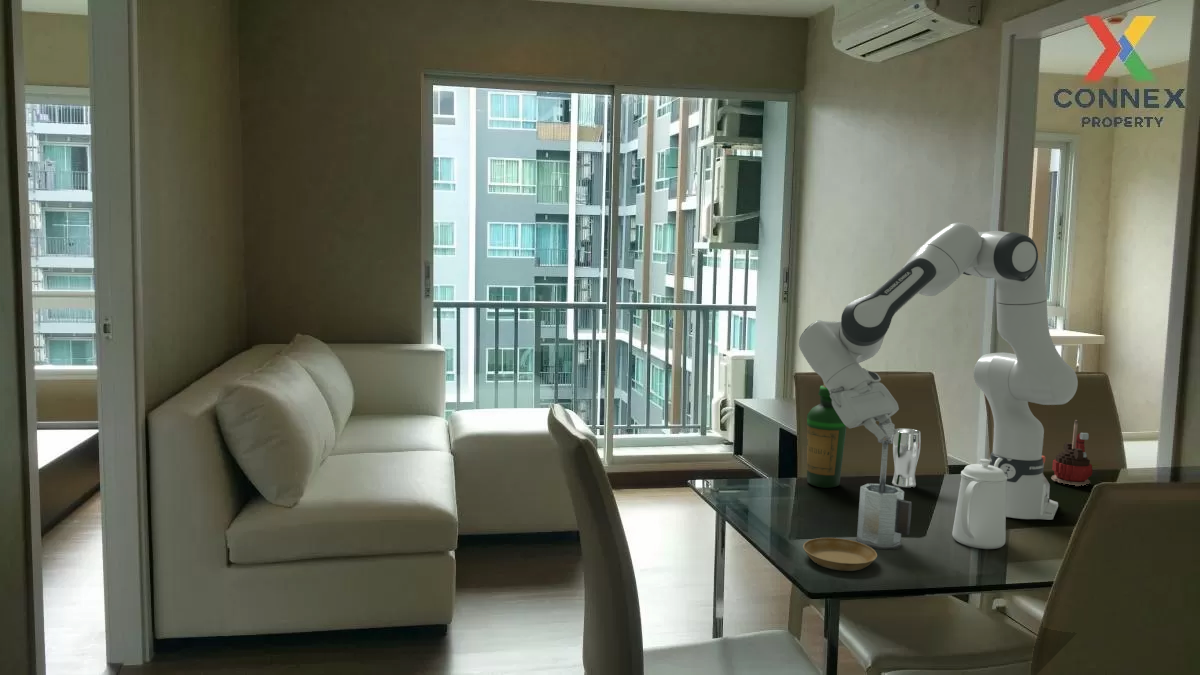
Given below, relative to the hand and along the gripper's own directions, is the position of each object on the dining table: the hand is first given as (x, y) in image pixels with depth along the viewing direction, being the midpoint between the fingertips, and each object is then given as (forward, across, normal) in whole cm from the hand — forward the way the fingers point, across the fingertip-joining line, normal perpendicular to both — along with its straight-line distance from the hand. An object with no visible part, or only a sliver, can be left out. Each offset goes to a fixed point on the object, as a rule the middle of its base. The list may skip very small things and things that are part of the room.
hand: (888, 436), depth 193 cm
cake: (+26, +89, +8) cm, 93 cm away
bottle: (-6, +33, +40) cm, 52 cm away
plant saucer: (+16, -17, +18) cm, 30 cm away
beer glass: (+4, +50, +30) cm, 58 cm away
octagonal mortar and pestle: (+16, 0, +17) cm, 24 cm away
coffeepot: (+27, +18, +7) cm, 33 cm away
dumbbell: (+10, 0, +11) cm, 14 cm away
